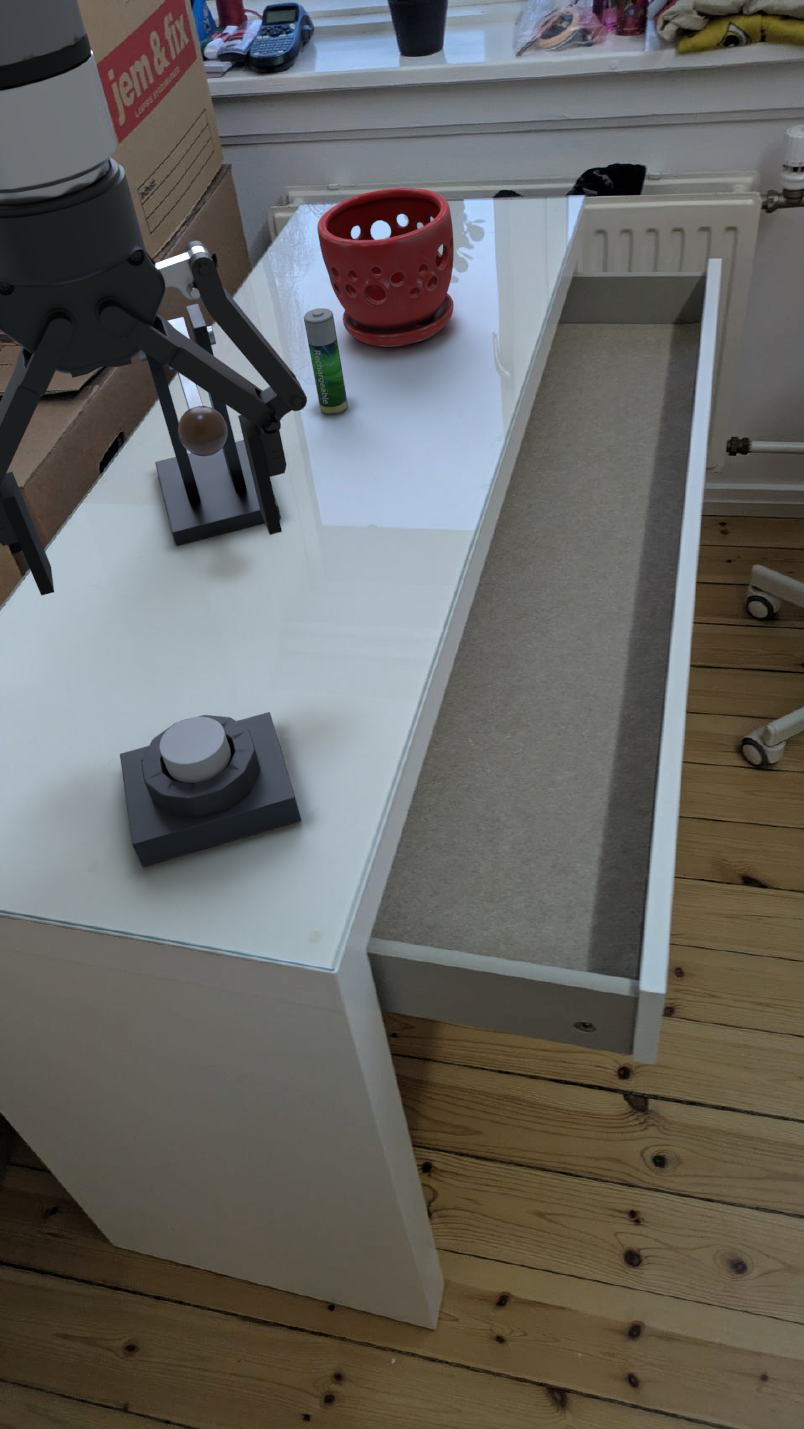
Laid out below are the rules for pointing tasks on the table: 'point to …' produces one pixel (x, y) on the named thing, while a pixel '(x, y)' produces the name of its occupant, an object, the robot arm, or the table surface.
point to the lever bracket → (203, 466)
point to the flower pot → (390, 265)
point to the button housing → (208, 794)
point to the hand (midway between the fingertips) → (160, 551)
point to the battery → (326, 360)
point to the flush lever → (198, 415)
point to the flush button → (195, 749)
